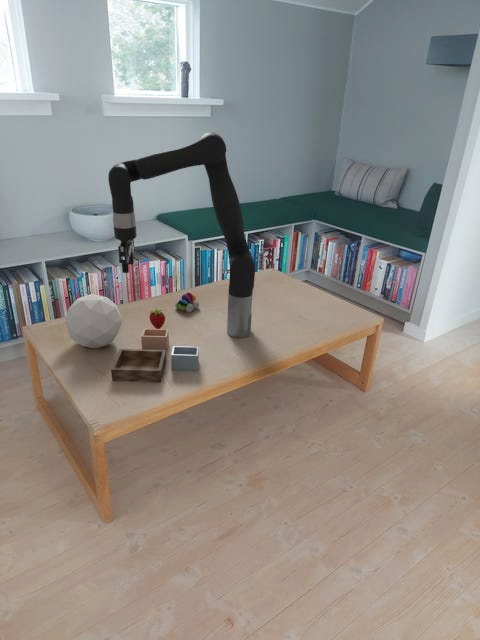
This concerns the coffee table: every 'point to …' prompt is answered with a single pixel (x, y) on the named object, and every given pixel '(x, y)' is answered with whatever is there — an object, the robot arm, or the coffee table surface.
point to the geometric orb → (93, 321)
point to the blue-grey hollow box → (184, 358)
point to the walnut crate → (139, 365)
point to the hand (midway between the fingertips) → (128, 268)
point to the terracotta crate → (155, 339)
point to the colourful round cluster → (187, 303)
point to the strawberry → (157, 318)
